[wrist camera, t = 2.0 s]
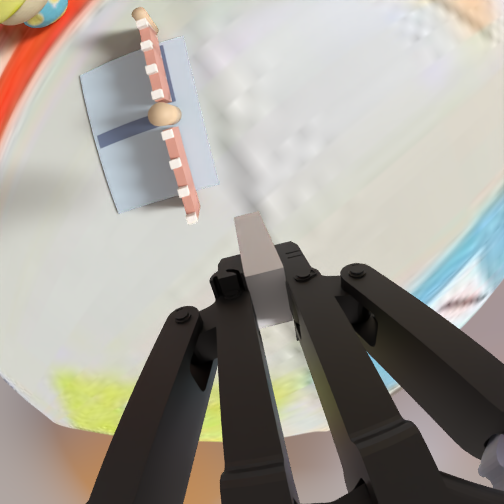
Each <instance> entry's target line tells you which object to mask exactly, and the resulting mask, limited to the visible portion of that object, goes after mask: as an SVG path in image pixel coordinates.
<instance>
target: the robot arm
mask: <svg viewBox="0 0 504 504" xmlns="http://www.w3.org/2000/svg"><path fill="white" fill-rule="evenodd" d="M234 221H235V227H236V233H237V238H238V244H239V249H240V254H239V255H235V256H231V257H227V258H223V259H221V261H220V262H219V264H218V271H217V272H216V273H214V274H213V275H212V276H211V278H210V284H211V287H212V290H213V293H214V295H215V299H216V301H215V302H214V303H213V304H212V305H211V306H209V307H207V308H206V309H203V310H201V311H198V309H197V308H195V307H193V306H185V307H181V308H178V309H176V310H175V311H173V312H172V313H171V314H170V315H169V316H168V318H167V320H166V322H165V324H164V326H163V328H162V330H161V332H160V334H159V336H158V338H157V340H156V342H155V344H154V347H153V349H152V351H151V353H150V355H149V357H148V359H147V361H146V363H145V366H144V368H143V370H142V372H141V374H140V376H139V379H138V381H137V383H136V385H135V387H134V390H133V392H132V394H131V396H130V399H129V401H128V403H127V406H126V408H125V410H124V412H123V415H122V417H121V419H120V422H119V424H118V427H117V429H116V431H115V434H114V436H113V439H112V441H111V443H110V446H109V449H108V451H107V453H106V456H105V458H104V461H103V464H102V466H101V469H100V471H99V474H98V477H97V479H96V482H95V485H94V488H93V490H92V493H91V496H90V498H89V501H88V502H87V503H86V504H183V502H184V498H185V494H186V489H187V485H188V481H189V477H190V473H191V469H192V465H193V461H194V457H195V453H196V449H197V445H198V441H199V437H200V433H201V429H202V425H203V421H204V417H205V413H206V409H207V405H208V401H209V397H210V394H211V390H212V386H213V382H214V378H215V374H216V370H217V366H218V376H219V394H220V409H221V424H222V437H223V449H224V460H225V470H224V472H223V473H222V475H221V479H220V493H221V503H222V504H300V502H299V498H298V494H297V491H296V487H295V484H294V480H293V476H292V471H291V467H290V463H289V458H288V454H287V450H286V446H285V441H284V436H283V432H282V428H281V423H280V419H279V414H278V410H277V406H276V401H275V397H274V392H273V388H272V383H271V379H270V374H269V370H268V365H267V361H266V356H265V352H264V347H263V342H262V338H261V334H260V330H259V329H261V328H265V327H269V326H273V325H277V324H281V323H285V322H289V321H292V320H293V319H294V325H295V331H296V338H297V341H298V340H299V341H300V344H301V347H302V349H303V352H304V355H305V358H306V361H307V364H308V367H309V369H310V372H311V375H312V378H313V381H314V384H315V387H316V390H317V393H318V395H319V398H320V401H321V404H322V407H323V410H324V413H325V416H326V419H327V422H328V425H329V428H330V431H331V434H332V437H333V440H334V443H335V445H336V449H337V452H338V455H339V458H340V461H341V464H342V467H343V472H344V479H345V483H346V487H347V490H348V494H346V495H344V496H343V497H341V498H339V499H337V500H336V501H333V502H329V503H313V504H504V364H503V363H502V362H500V361H499V360H498V359H497V358H495V357H494V356H493V355H492V354H491V353H489V352H488V351H487V350H486V349H484V348H483V347H482V346H481V345H479V344H478V343H477V342H475V341H474V340H473V339H472V338H470V337H469V336H467V335H466V334H465V333H464V332H462V331H461V330H460V329H458V328H457V327H456V326H454V325H453V324H452V323H450V322H449V321H448V320H446V319H445V318H444V317H442V316H441V315H439V314H438V313H437V312H435V311H434V310H433V309H431V308H430V307H428V306H427V305H426V304H424V303H423V302H421V301H420V300H418V299H417V298H416V297H414V296H413V295H411V294H410V293H408V292H407V291H406V290H404V289H403V288H401V287H400V286H398V285H397V284H395V283H394V282H392V281H391V280H389V279H388V278H386V277H385V276H383V275H382V274H380V273H379V272H377V271H376V270H374V269H373V268H371V267H370V266H368V265H365V264H360V263H354V264H350V265H347V266H345V267H344V268H342V270H341V272H340V274H341V276H323V275H321V274H320V272H319V271H318V270H317V269H314V268H312V267H311V266H310V265H309V263H308V261H307V260H306V258H305V256H304V255H303V253H302V251H301V250H300V248H299V246H298V245H297V244H295V243H293V242H291V241H290V242H285V243H281V244H277V245H274V244H273V242H272V240H271V237H270V235H269V233H268V231H267V228H266V226H265V224H264V222H263V219H262V217H261V215H260V213H259V211H258V212H254V213H250V214H246V215H242V216H237V217H234ZM292 316H293V319H292ZM366 351H367V352H368V353H369V354H370V355H371V356H372V357H373V358H374V359H375V360H376V361H377V362H378V363H379V364H380V365H381V366H382V367H383V368H384V369H385V370H386V371H387V372H388V373H389V375H390V376H391V377H392V378H393V379H394V380H395V381H396V382H397V383H398V384H399V385H400V386H401V387H402V388H403V389H404V390H405V391H406V392H407V393H408V394H409V395H410V396H411V397H412V398H413V399H414V400H415V401H416V402H417V403H418V404H419V405H420V406H421V407H422V408H423V409H424V410H425V411H426V412H427V413H428V414H429V415H430V416H431V417H432V418H433V420H435V422H436V423H437V424H438V425H439V426H440V427H441V428H442V429H443V430H444V431H445V432H446V433H447V434H448V435H449V436H450V437H451V438H452V439H453V440H454V441H455V442H456V443H457V444H458V445H459V446H460V447H461V448H462V449H463V450H465V451H466V452H468V453H469V454H471V455H472V456H474V457H476V458H478V459H480V460H481V464H480V465H479V468H478V472H479V475H480V476H482V477H486V478H487V479H489V480H490V481H491V483H492V485H493V488H490V487H486V486H483V485H480V484H477V483H473V482H470V481H467V480H464V479H461V478H458V477H455V476H453V475H450V474H447V473H444V472H441V471H439V470H438V468H437V466H436V464H435V462H434V460H433V457H432V455H431V453H430V451H429V449H428V447H427V445H426V443H425V441H424V439H423V437H422V435H421V433H420V431H419V430H418V428H417V427H416V425H415V424H414V423H413V422H411V421H408V420H404V419H403V418H402V416H401V415H400V413H399V411H398V409H397V407H396V405H395V404H394V402H393V400H392V398H391V396H390V394H389V392H388V390H387V388H386V386H385V384H384V383H383V381H382V379H381V377H380V375H379V373H378V372H377V370H376V368H375V366H374V364H373V362H372V361H371V359H370V357H369V355H368V353H367V352H366Z"/></svg>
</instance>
